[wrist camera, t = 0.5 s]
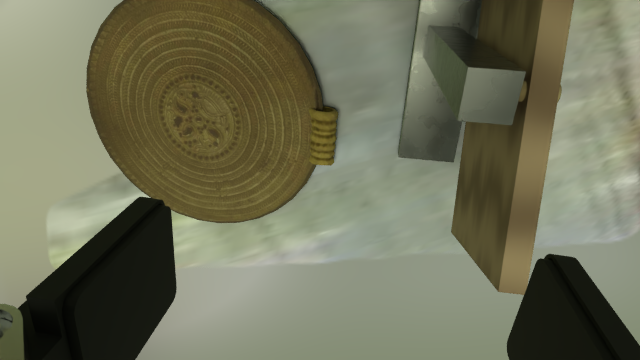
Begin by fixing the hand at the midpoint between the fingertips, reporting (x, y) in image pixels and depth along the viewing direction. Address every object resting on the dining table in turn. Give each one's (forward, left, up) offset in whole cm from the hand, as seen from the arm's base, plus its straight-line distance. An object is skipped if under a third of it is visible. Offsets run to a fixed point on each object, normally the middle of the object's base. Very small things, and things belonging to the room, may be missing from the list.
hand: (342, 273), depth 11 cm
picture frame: (+3, +10, -30) cm, 31 cm away
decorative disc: (+9, -18, -38) cm, 43 cm away
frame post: (-1, +7, -37) cm, 38 cm away
